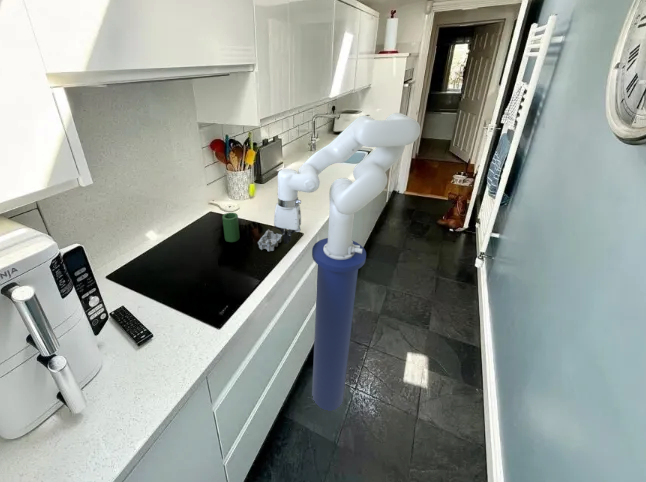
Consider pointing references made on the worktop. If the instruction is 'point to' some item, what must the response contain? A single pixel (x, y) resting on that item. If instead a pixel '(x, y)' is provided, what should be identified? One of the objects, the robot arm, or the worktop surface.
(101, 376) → the worktop surface
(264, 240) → the egg carton
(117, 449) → the worktop surface
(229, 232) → the green hollow cylinder
